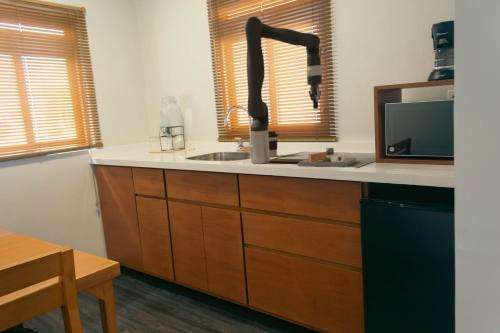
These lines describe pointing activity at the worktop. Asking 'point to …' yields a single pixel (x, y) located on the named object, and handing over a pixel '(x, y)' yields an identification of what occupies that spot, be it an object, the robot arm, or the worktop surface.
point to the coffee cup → (272, 143)
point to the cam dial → (322, 155)
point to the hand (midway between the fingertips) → (315, 108)
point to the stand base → (330, 162)
